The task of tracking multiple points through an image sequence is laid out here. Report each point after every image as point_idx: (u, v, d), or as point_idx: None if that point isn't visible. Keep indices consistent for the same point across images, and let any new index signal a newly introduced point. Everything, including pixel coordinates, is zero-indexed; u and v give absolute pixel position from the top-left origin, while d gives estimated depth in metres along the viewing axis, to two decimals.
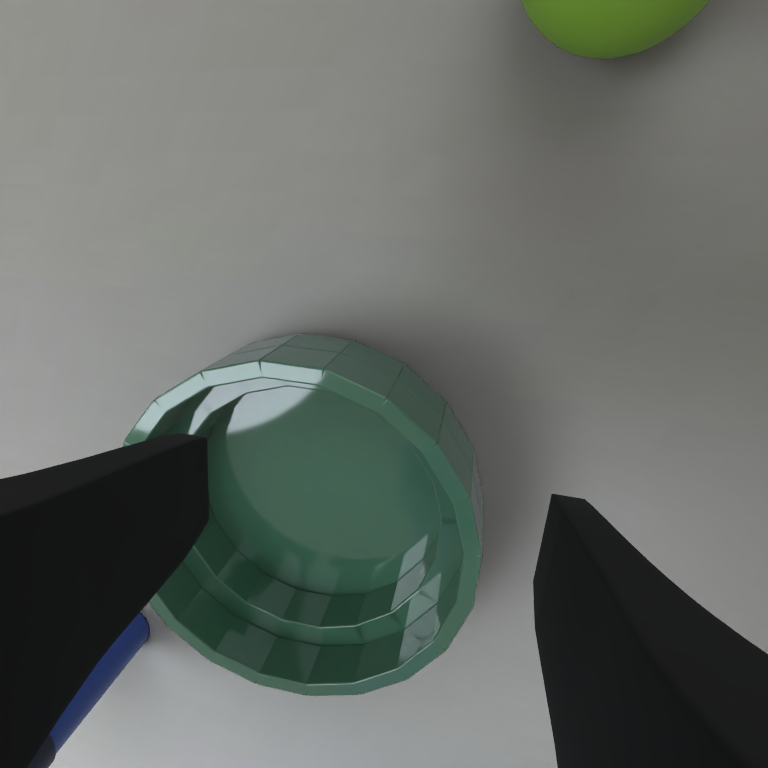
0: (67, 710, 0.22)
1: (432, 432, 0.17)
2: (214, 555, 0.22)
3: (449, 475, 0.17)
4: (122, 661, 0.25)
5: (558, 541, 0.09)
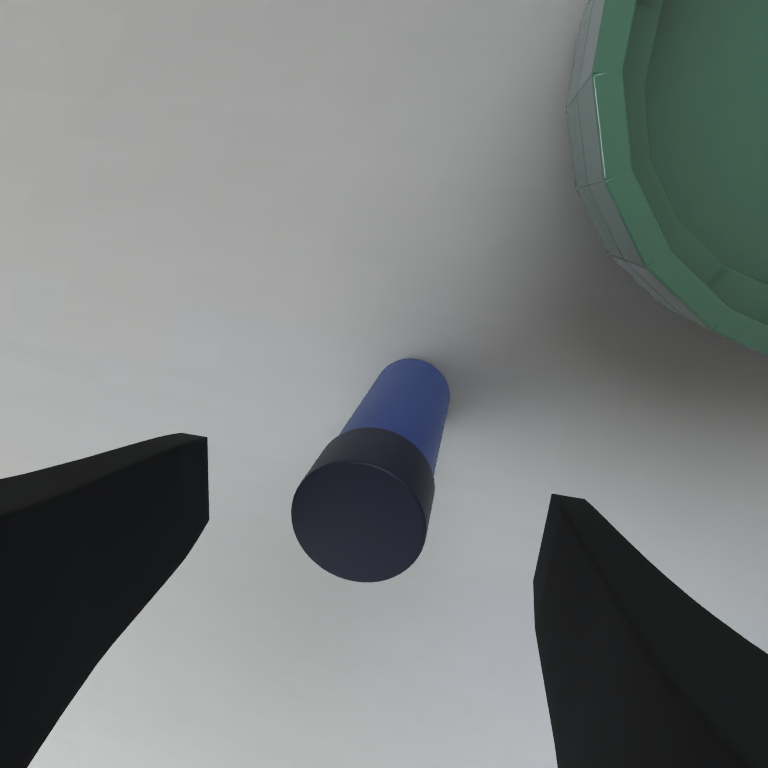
0: (429, 444, 0.13)
1: None
2: None
3: None
4: (444, 420, 0.16)
5: (558, 541, 0.09)
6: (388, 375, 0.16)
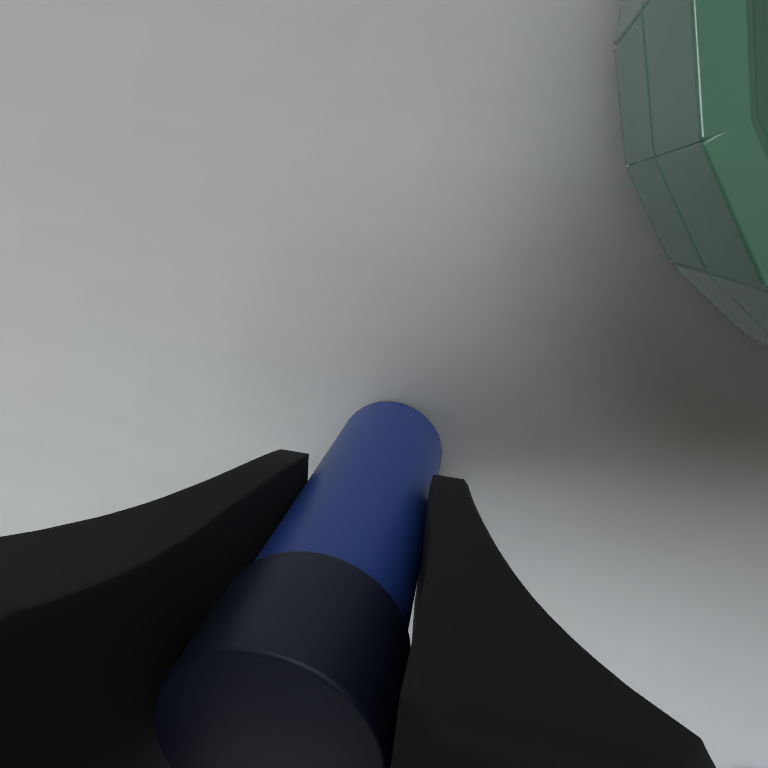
0: (405, 562, 0.08)
1: None
2: None
3: None
4: None
5: (426, 518, 0.09)
6: (354, 430, 0.12)
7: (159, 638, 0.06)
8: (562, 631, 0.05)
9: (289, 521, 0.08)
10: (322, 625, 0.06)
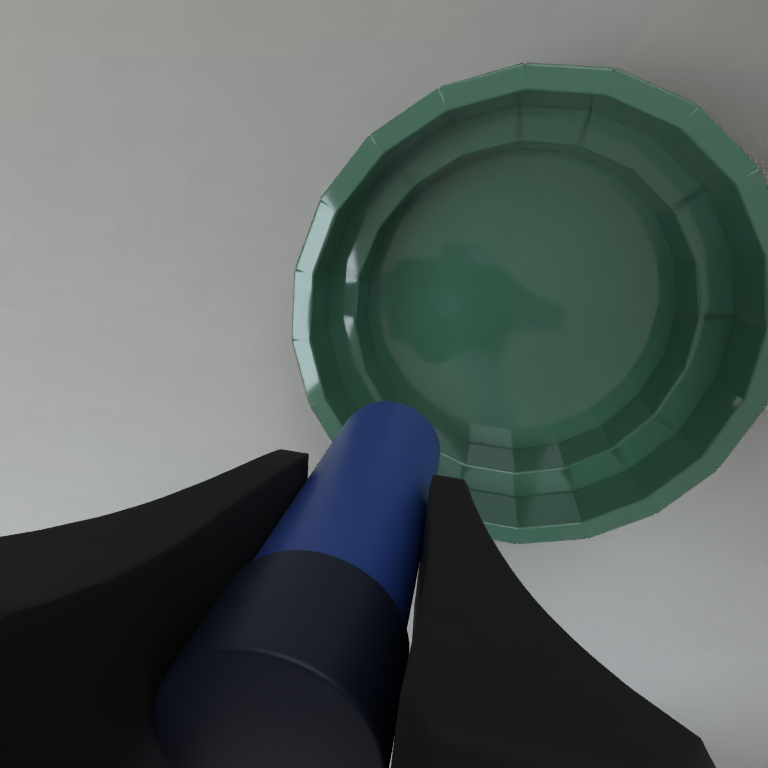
0: (404, 561, 0.08)
1: (745, 160, 0.13)
2: (383, 390, 0.19)
3: None
4: None
5: (426, 518, 0.09)
6: (353, 430, 0.12)
7: (159, 638, 0.06)
8: (561, 631, 0.05)
9: (288, 520, 0.08)
10: (321, 624, 0.06)
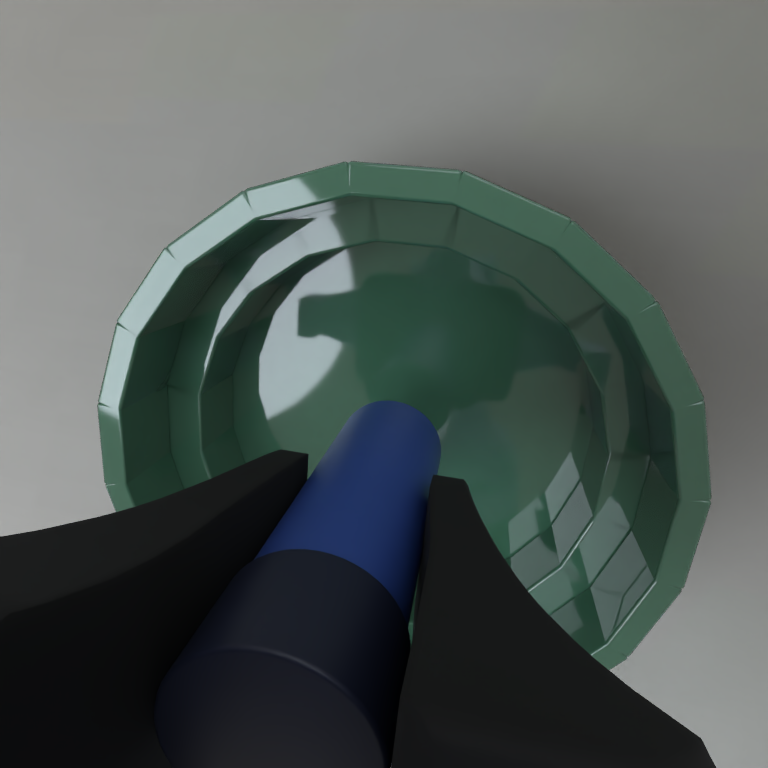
0: (405, 560, 0.08)
1: (642, 287, 0.10)
2: None
3: (672, 359, 0.10)
4: None
5: (426, 518, 0.09)
6: (354, 429, 0.12)
7: (158, 638, 0.06)
8: (562, 631, 0.05)
9: (289, 519, 0.08)
10: (322, 623, 0.06)
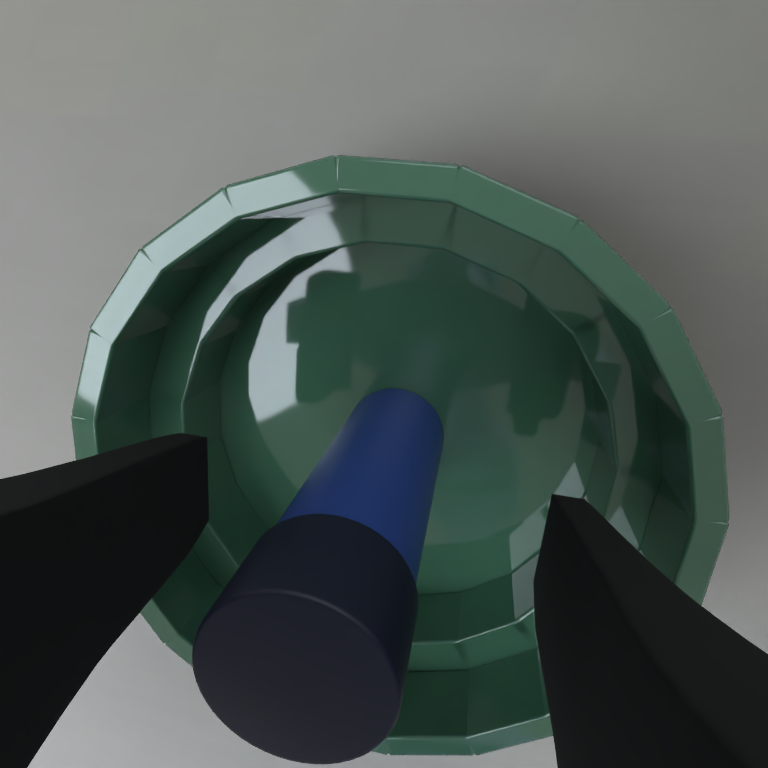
0: (412, 528, 0.09)
1: (655, 292, 0.09)
2: (235, 533, 0.15)
3: (688, 371, 0.09)
4: (436, 474, 0.12)
5: (558, 541, 0.09)
6: (362, 414, 0.12)
7: None
8: None
9: (306, 491, 0.09)
10: (341, 573, 0.07)
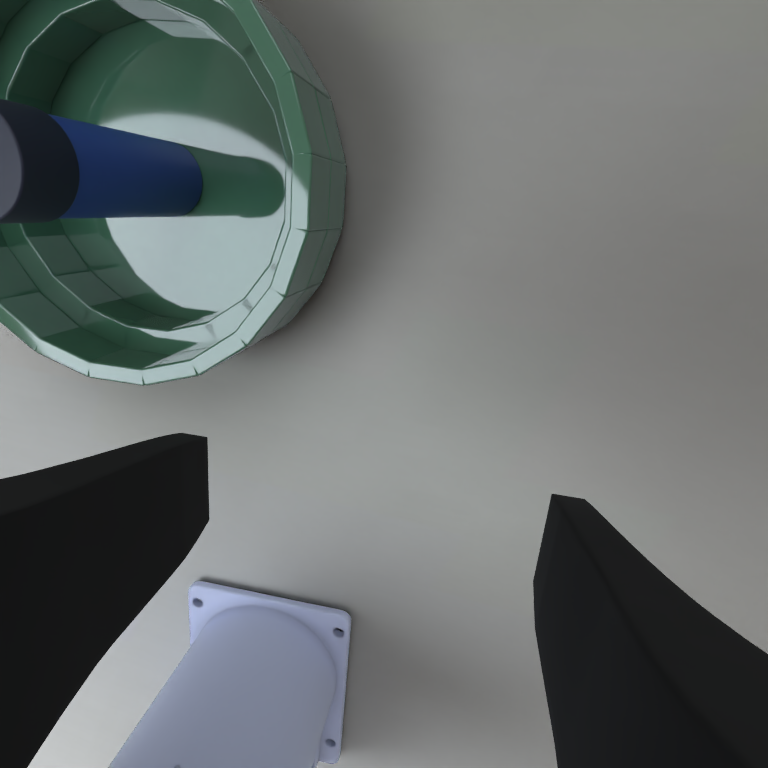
0: (96, 144, 0.14)
1: None
2: (56, 259, 0.20)
3: (265, 40, 0.14)
4: (170, 176, 0.17)
5: (558, 541, 0.09)
6: None
7: None
8: None
9: None
10: None
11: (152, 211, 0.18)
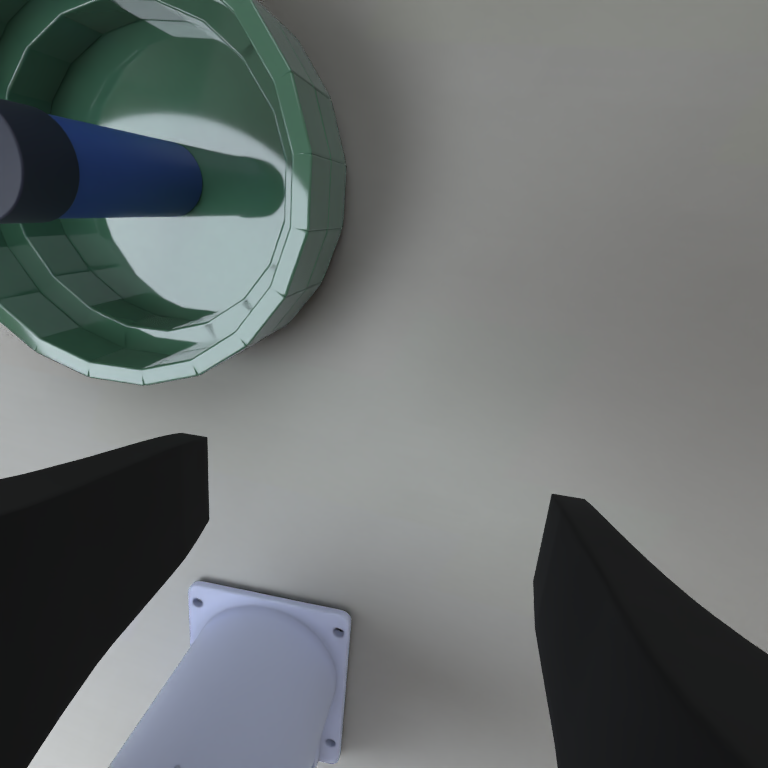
0: (96, 144, 0.14)
1: None
2: (56, 259, 0.20)
3: (265, 40, 0.14)
4: (170, 176, 0.17)
5: (558, 541, 0.09)
6: None
7: None
8: None
9: None
10: None
11: (152, 211, 0.18)
